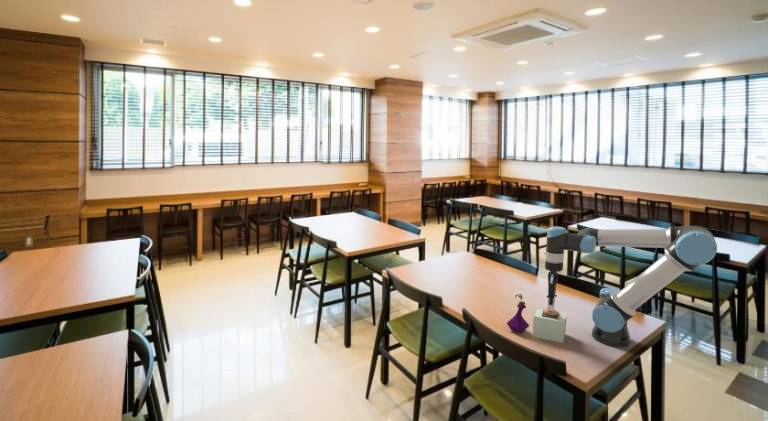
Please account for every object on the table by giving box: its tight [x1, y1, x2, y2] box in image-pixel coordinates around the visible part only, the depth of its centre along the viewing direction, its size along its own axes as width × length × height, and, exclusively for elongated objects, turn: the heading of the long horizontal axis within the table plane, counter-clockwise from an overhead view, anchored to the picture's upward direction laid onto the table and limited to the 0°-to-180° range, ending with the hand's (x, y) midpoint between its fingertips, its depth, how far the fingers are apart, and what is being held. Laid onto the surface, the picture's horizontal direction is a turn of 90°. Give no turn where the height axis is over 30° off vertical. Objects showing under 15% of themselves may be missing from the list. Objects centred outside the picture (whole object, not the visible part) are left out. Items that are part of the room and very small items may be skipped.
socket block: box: [532, 308, 568, 344], centre depth 184 cm, size 13×10×11 cm
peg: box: [543, 308, 558, 317], centre depth 184 cm, size 6×6×10 cm
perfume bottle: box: [506, 293, 530, 334], centre depth 188 cm, size 8×8×18 cm
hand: (550, 310), depth 183 cm, fingers closed
